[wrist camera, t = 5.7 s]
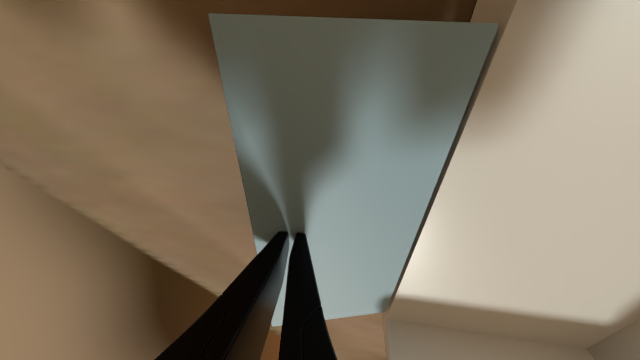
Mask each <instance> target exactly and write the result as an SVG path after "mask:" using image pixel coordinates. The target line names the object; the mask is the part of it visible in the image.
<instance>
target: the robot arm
mask: <svg viewBox="0 0 640 360" xmlns="http://www.w3.org/2000/svg"><path fill="white" fill-rule="evenodd" d="M288 252H289V233H288V232H287V231H278V232H277V233H276V235H275V236H274V237H273V238H272V239H271V240H270V241H269V242H268V243H267V245H266V246H265V247H264V248H263V249H262V250H261V251H260V252H259V253H258V254H257V256H256V257H255V258H254V259H253V260H252V261H251V262H250V263H249V264H248V265H247V267H246V268H245V269H244V270H243V271H242V272H241V273H240V274H239V275H238V277H237V278H236V279H235V280H234V281H233V282H232V283H231V284H230V285H229V286H228V288H227V289H226V290H225V291H224V292H223V293H222V295H220V296H219V297H218V298H217V300H216V301H215V302H214V303H213V304H212V305H211V306H210V307H209V308H208V309H207V310H206V311H205V312H204V313H203V315H202V316H201V317H200V318H199V319H198V320H196V322H195V323H193V324H192V325H191V326H190V327H189V328H188V329H187V330H186V331H185V332H184V333H183V334H182V335H181V336H179V338H177V339H176V340H175V341H174V342H173V343H172V344H171V345H170V346H169V347H168V348H166V349H165V350H164V351H163V352H162V353H161V354H160V355H159V356H158V357H157V358H156V359H155V360H260V358H261V355H262V351H263V348H264V344H265V341H266V338H267V334H268V331H269V328H270V324H271V321H272V318H273V314H274V311H275V308H276V304H277V301H278V298H279V294H280V291H281V288H282V284H283V279H284V274H285V269H286V263H287V257H288ZM279 360H337V357H336V354H335V351H334V349H333V346H332V343H331V340H330V336H329V333H328V330H327V326H326V322H325V318H324V314H323V309H322V306H321V301H320V296H319V292H318V287H317V282H316V278H315V273H314V269H313V264H312V260H311V255H310V251H309V246H308V242H307V237H306V234H305V233H299V232H297V233H296V235H295V239H294V242H293V246H292V249H291V253H290V257H289V264H288V274H287V283H286V293H285V303H284V312H283V322H282V331H281V341H280V351H279Z"/></svg>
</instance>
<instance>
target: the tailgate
mask: <svg viewBox="0 0 640 360" xmlns="http://www.w3.org/2000/svg"><path fill="white" fill-rule="evenodd" d="M208 17H209V21H210V26H211V31H212V36H213V41H214V46H215V51H216V55H217V60H218V65H219V70H220V75H221V80H222V85H223V89H224V94H225V99H226V104H227V109H228V114H229V119H230V123H231V128H232V133H233V138H234V143H235V148H236V153H237V157H238V162H239V167H240V172H241V177H242V182H243V187H244V191H245V196H246V201H247V206H248V211H249V216H250V221H251V225H252V230H253V235H254V240H255V245H256V250H257V254H258V253H259V252H260V251H261V250H262V249H263V248H264V247H265V246H266V245H267V243H268V242H269V241H270V240H271V239H272V238H273V237H274V236H275V235H276V233H277V232H278V231H287V232H288V233H289V252H288V257H287V263H286V269H285V274H284V279H283V284H282V288H281V291H280V294H279V298H278V301H277V304H276V308H275V311H274V314H273V318H272V321H271V323H272V327H274V326H281V325H282V322H283V312H284V303H285V293H286V283H287V274H288V264H289V257H290V253H291V249H292V246H293V242H294V239H295V235H296V233H297V232H299V233H305V234H306V237H307V242H308V246H309V251H310V255H311V260H312V264H313V269H314V273H315V278H316V282H317V287H318V292H319V296H320V301H321V306H322V309H323V314H324V318H325V320H327V319H335V318H342V317H350V316H358V315H365V314H373V313H381V312H386V310H387V307H388V305H389V302H390V299H391V297H392V294H393V292H394V289H395V287H396V284H397V282H398V279H399V277H400V274H401V272H402V269H403V267H404V264H405V262H406V259H407V256H408V254H409V251H410V249H411V246H412V244H413V241H414V239H415V236H416V234H417V231H418V229H419V226H420V224H421V221H422V219H423V216H424V213H425V211H426V208H427V206H428V203H429V201H430V198H431V196H432V193H433V191H434V188H435V186H436V183H437V181H438V178H439V176H440V173H441V170H442V168H443V165H444V163H445V160H446V158H447V155H448V153H449V150H450V148H451V145H452V143H453V140H454V138H455V135H456V133H457V130H458V127H459V125H460V122H461V120H462V117H463V115H464V112H465V110H466V107H467V105H468V102H469V100H470V97H471V95H472V92H473V90H474V87H475V84H476V82H477V79H478V77H479V74H480V72H481V69H482V67H483V64H484V62H485V59H486V57H487V54H488V52H489V49H490V47H491V44H492V41H493V39H494V36H495V34H496V31H497V29H498V26H499V23H471V22H443V21H415V20H386V19H358V18H330V17H302V16H274V15H246V14H217V13H208Z"/></svg>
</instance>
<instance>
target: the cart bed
mask: <svg viewBox="0 0 640 360" xmlns="http://www.w3.org/2000/svg"><path fill="white" fill-rule="evenodd" d="M470 22H471V23H499V26H498V29H497V31H496V34H495V36H494V39H493V41H492V44H491V47H490V49H489V52H488V54H487V57H486V59H485V62H484V64H483V67H482V69H481V72H480V74H479V77H478V79H477V82H476V84H475V87H474V90H473V92H472V95H471V97H470V100H469V102H468V105H467V107H466V110H465V112H464V115H463V117H462V120H461V122H460V125H459V127H458V130H457V133H456V135H455V138H454V140H453V143H452V145H451V148H450V150H449V153H448V155H447V158H446V160H445V163H444V165H443V168H442V170H441V173H440V176H439V178H438V181H437V183H436V186H435V188H434V191H433V193H432V196H431V198H430V201H429V203H428V206H427V208H426V211H425V213H424V216H423V219H422V221H421V224H420V226H419V229H418V231H417V234H416V236H415V239H414V241H413V244H412V246H411V249H410V251H409V254H408V256H407V259H406V262H405V264H404V267H403V269H402V272H401V274H400V277H399V279H398V282H397V284H396V287H395V289H394V292H393V294H392V297H391V299H390V302H389V305H388V307H387V310H386V312H382V319H383V330H384V341H385V352H386V360H640V0H477V2H476V5H475V8H474V11H473V14H472V17H471V20H470Z"/></svg>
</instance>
